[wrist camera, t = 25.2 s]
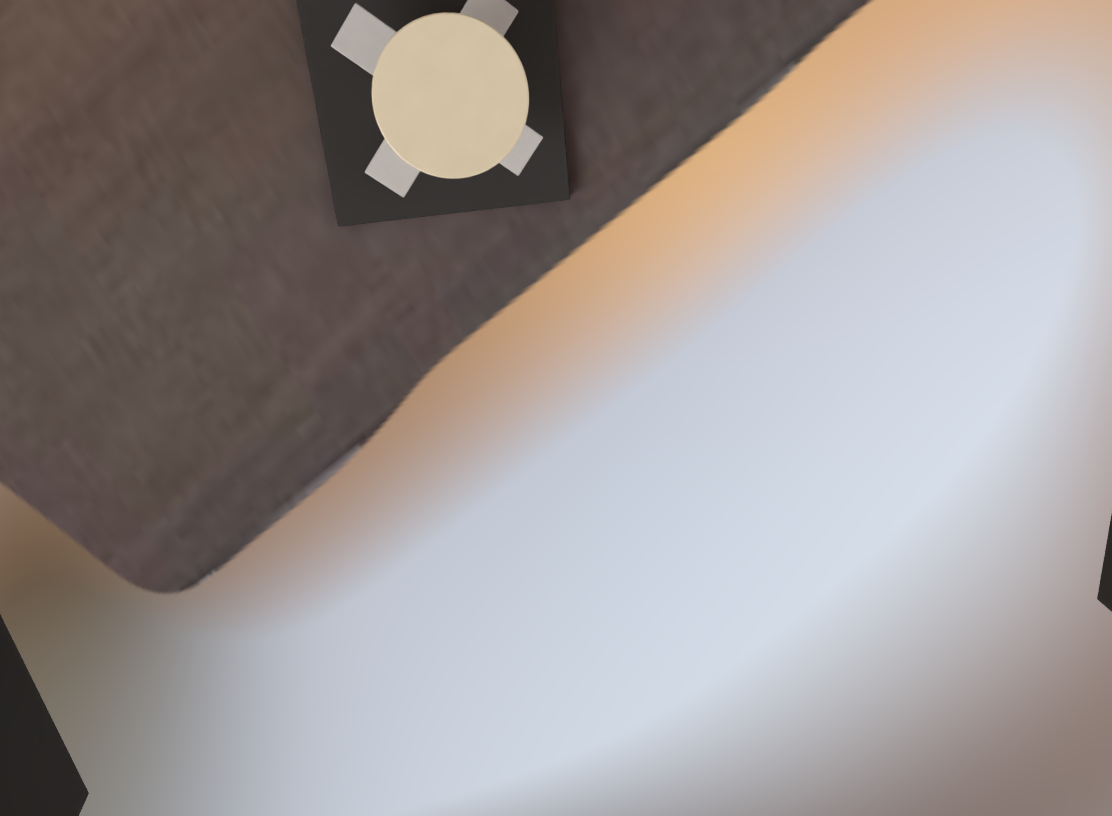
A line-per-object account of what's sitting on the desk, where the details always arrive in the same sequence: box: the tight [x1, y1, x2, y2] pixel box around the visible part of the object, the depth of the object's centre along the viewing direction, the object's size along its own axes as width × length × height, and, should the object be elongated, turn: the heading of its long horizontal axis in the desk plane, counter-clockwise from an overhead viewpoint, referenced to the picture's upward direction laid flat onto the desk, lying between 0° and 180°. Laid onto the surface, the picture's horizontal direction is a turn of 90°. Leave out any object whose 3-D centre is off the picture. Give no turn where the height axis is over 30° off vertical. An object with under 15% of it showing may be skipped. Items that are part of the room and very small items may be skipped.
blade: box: [331, 0, 543, 197], centre depth 29 cm, size 8×8×14 cm
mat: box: [297, 0, 570, 226], centre depth 36 cm, size 10×10×1 cm
